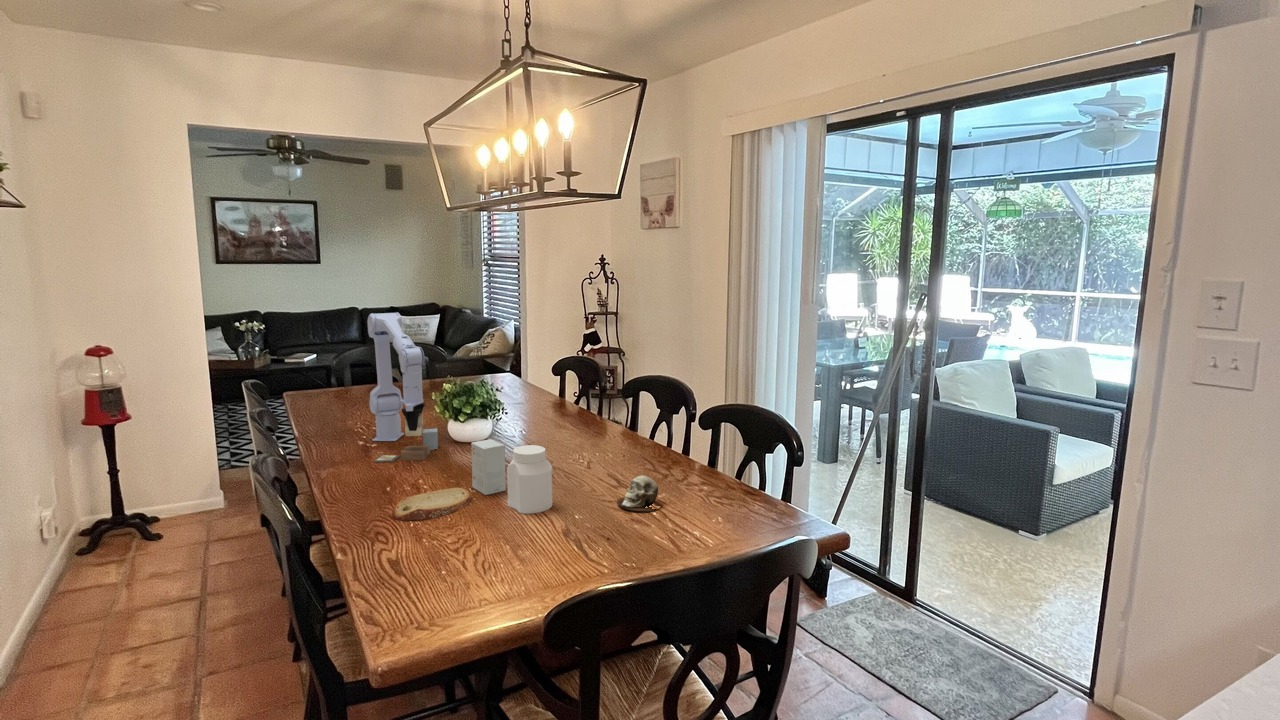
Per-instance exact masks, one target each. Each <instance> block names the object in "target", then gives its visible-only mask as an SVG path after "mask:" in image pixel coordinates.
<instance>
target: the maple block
mask: <svg viewBox="0 0 1280 720" xmlns="http://www.w3.org/2000/svg"><path fill="white" fill-rule="evenodd" d="M423 415H424V414H423V413H422V414H419V417H418V425H417V430H416V431H409V428H408V424H407V421H406V418H405V417H404V428H405V429H404V435H405V437H418V436H419V437H420V436H422V435H423V429H424V416H423Z"/></svg>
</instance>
